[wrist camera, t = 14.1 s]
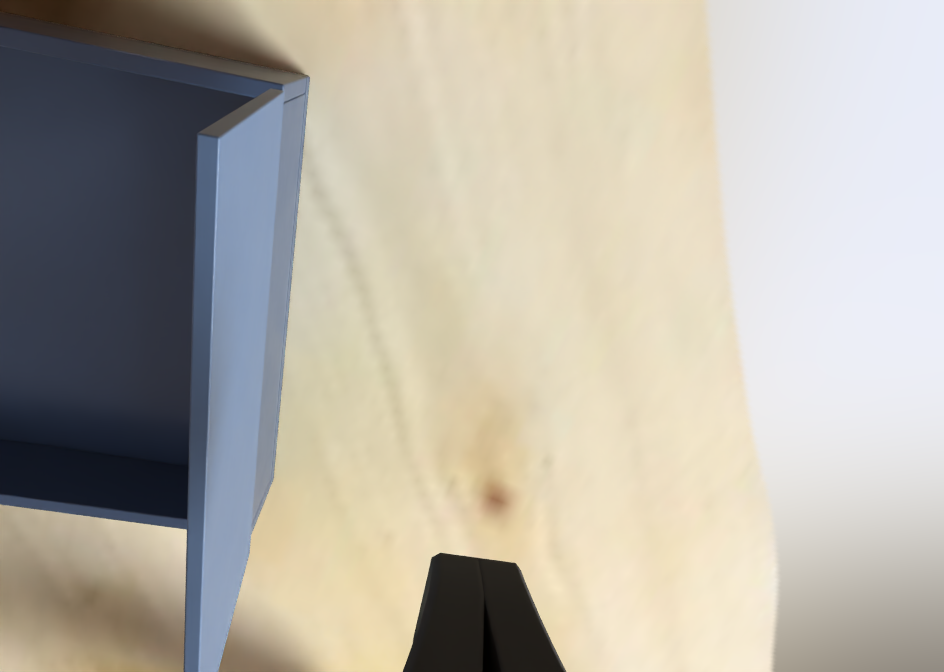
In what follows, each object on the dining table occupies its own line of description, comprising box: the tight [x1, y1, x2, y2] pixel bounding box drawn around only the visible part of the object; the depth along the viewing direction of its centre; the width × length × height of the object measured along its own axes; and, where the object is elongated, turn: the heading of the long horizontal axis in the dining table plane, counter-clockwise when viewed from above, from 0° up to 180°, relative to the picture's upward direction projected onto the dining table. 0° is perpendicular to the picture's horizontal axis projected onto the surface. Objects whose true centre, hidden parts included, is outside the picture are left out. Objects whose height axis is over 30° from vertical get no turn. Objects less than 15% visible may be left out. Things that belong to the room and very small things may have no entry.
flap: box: [184, 88, 284, 672], centre depth 14 cm, size 6×13×1 cm
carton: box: [0, 12, 310, 534], centre depth 17 cm, size 12×13×3 cm
